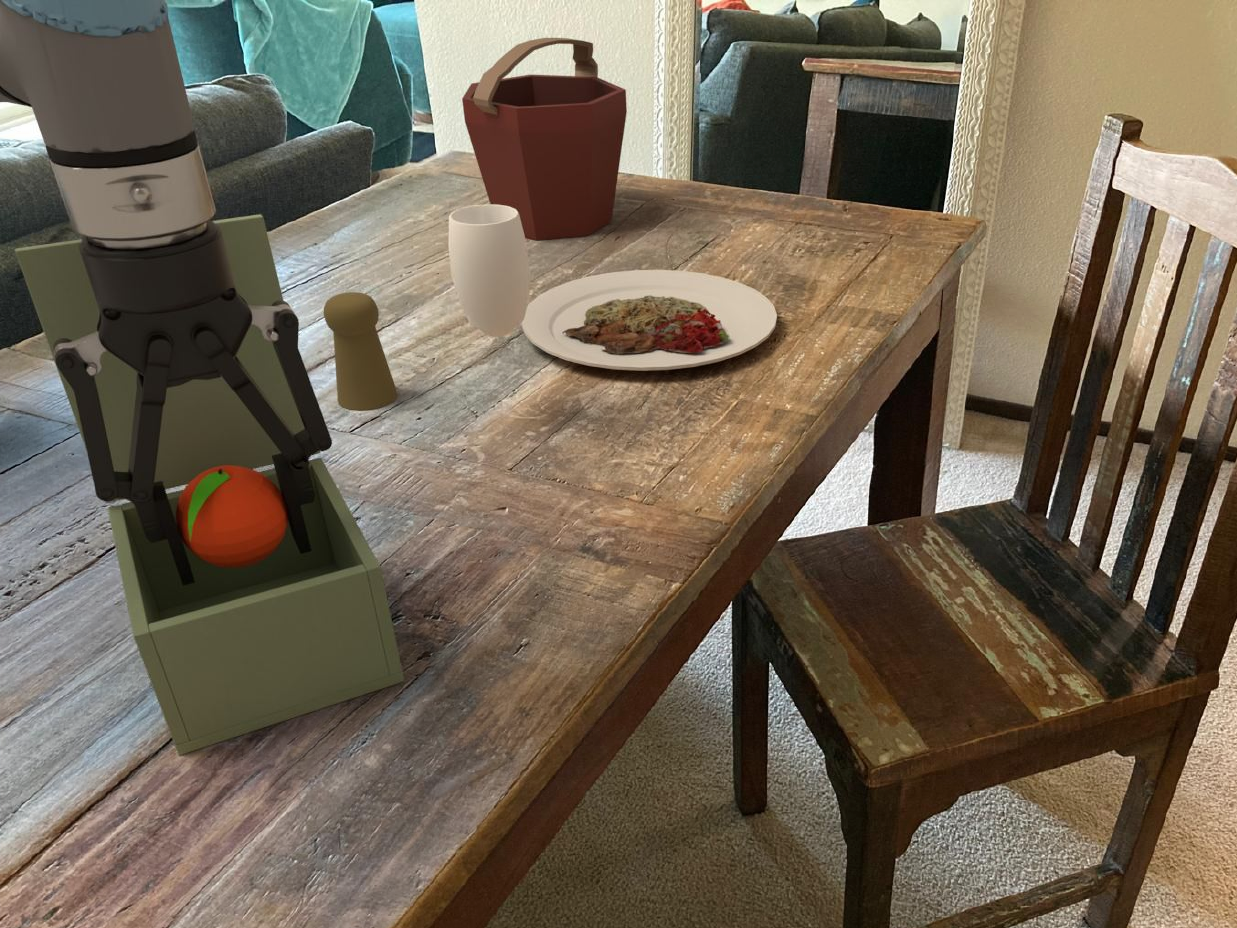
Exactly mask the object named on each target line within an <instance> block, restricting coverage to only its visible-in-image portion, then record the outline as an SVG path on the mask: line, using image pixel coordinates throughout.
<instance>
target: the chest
mask: <svg viewBox="0 0 1237 928" xmlns="http://www.w3.org/2000/svg"><path fill="white" fill-rule="evenodd" d="M308 467H309V472H310V476H311V480H312V484H313V488H314V492H315V498H314V502H311V503H307V504H303V505H300V506H301V510H302V514H303V518H304V522H305V526H306V530H307V534H308V538H309V542H310V546H311V550H312V551H310V552H306V553H303V554H301V553H300V551H299V549H298V547H297V545H296V542H295V540H294V538H293V536H292V532H291V528H290V524H289V520H288V522H287V527H286V531H285V535H284V537H283V539H282V540H281V542H280V543H279V545H278V546H277V548H276V549H275V551H273V552H272V553H271V554H270V555H269V556H267V557H266V558H264V559H263V560H261V561H259V562H258V563H255V564H253V565H249V566H245V567H239V568H229V567H220V566H216V565H213V564H211V563H209V562H207V561H205V560H203V559H201V558H199V557H197V556H196V555H195V554H194V553H193V552H192V551H191V550H190V549H189V548H188V547H187V546H186V545H185V544H184V542H183V540H182V542H183V545H184V549H185V552H186V555H187V558H188V561H189V564H190V567H191V571H192V574H193V577H194V581H195V583H191V584H187V585H184V586H183V584H182V581H181V578H180V576H179V573H178V570H177V567H176V564H175V561H174V558H173V555H172V552H171V549H170V546H169V543H168V540H167V539H165V540H161V541H157V542H153V543H151V542H150V541H149V540H148V539H147V538H146V536H145V533H144V530H143V527H142V525H141V522H140V519H139V516H138V513H137V510H136V507H135V505H134V504H133V503H132V502H131V501H129V502H125V503H121V504H117V505H113V506H109V507H107V512H108V518H109V522H110V527H111V533H112V536H113V542H114V548H115V552H116V556H117V561H118V566H119V572H120V577H121V581H122V586H123V591H124V596H125V601H126V602H125V603H126V606H127V611H128V616H129V621H130V626H131V631H132V636H133V639H134V641H135V644H136V647H137V650H138V652H139V654H140V657H141V660H142V662H143V663H142V664H143V665H144V667H145V670H146V673H147V676H148V678H149V681H150V683H151V686H152V689H153V692H154V694H155V697H156V700H157V702H158V705H159V707H160V710H161V712H162V715H163V718H164V720H165V723H166V725H167V728H168V731H169V734H170V737H171V739H172V742H173V744H174V748H175V749H176V753H177V755H178V756H183V755H185V754H188V753H191V752H194V751H198V750H201V749H203V748H206V747H209V746H213V745H215V744H218V743H222V742H224V741H227V740H230V739H231V740H232V739H233V738H236V737H239V736H242V735H246V734H248V733H252V732H254V731H258V730H261V729H265V728H266V727H270V726H273V725H276V724H279V723H282V722H286V721H288V720H291V719H294V718H297V717H300V716H303V715H307V714H311V713H312V712H315V711H318V710H322V709H324V708H327V707H332V706H334V705H337V704H340V703H343V702H346V701H348V700H352V699H355V698H358V697H361V696H364V695H367V694H371V693H374V692H376V691H381V690H382V689H385V688H388V687H392V686H395V685H397V684H401V683H404V682H405V677H404V672H403V667H402V662H401V658H400V657H401V656H400V653H399V648H398V643H397V638H396V634H395V629H394V625H393V620H392V615H391V611H390V610H391V609H390V606H389V601H388V596H387V591H386V587H385V586H386V585H385V581H384V576H383V572H382V567H381V565H380V563H379V561H378V559H377V557H376V556H375V553H374V552H373V550H372V548H371V547H370V544H369V543H368V541H367V539H366V537H365V535H364V534H363V531H362V530H361V528H360V526H359V524H358V523H357V521H356V518H355V517H354V515H353V514H352V511H351V510H350V507H349V506H348V504H347V502H346V501H345V499H344V497H343V496H342V493H341V491H340V490H339V487H338V486H337V485H336V482H335V480H334V479H333V477H332V475H331V473H330V472H329V470H328V467H327V466H326V464H325V461H323V458H322V457H317V458H312V459H309V466H308ZM258 472H259V473H261V474H263V475H264V476H266V477H267V478H269V479H270V480H271V481H272V482H273V483H274V484H275V485H276V487H277V488H278V489H279V490H280V486H279V482H278V478H277V474H276V471H275V467H274V468H269V469H266V470H261V471H258ZM183 491H184V489H181V490H177V491H172V492H171V491H170V492H166V494H167V497H168V500H169V503H170V506H171V509H172V512H173V515H174V518H175V521H176V509H177V504H178V501H179V498H180V496H181V494H182V492H183ZM280 492H281V490H280ZM176 524H177V521H176ZM181 539H182V538H181Z"/></svg>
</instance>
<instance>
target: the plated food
mask: <svg viewBox="0 0 1237 928" xmlns="http://www.w3.org/2000/svg"><path fill="white" fill-rule="evenodd" d="M777 320H778V313H777V311H776V308H775V305H774V304H773V303H772V302H771V301H770V300H769V298H768V297H767V296H765V295H764V294H763V293H761V292H760V291H758V290H757V289H755V288H753V287H750V286H748V285H746V284H744V283H741V282H739V281H735V280H733V279H729V278H726V277H723V276H718V275H712V274H707V273H703V272H696V271H695V272H693V271H687V270H673V269H672V270H671V269H633V270H623V271H612V272H606V273H600V274H595V275H589V276H586V277H582V278H578V279H573V280H571V281H568V282H565V283H562V284H559V285H557V286H554V287H552V288H550V289H548V290H546V291H544V292H543V293H541V294H539V295H538V296H536V298H534V299H533V300H532V301H530V302H528V305H527V309H526V314H525V318H524V320H523V322H521V323H520V325H521V328H522V330H523V334H524V336H525V337H526V338H527V339H528V340H529V341H530V342H531V343H532V344H533V345H534V346H535V347H537V348H538V349H540V350H542V351H543V352H544V353H547V354H549V355H552V356H554V357H557V358H559V359H562V360H563V361H564V360H565V361H568V362H572V363H576V364H579V365H584V366H589V367H595V368H601V369H607V370H609V369H610V370H619V371H621V370H623V371H639V372H640V371H644V372H645V371H646V372H647V371H669V370H670V371H671V370H677V369H686V368H695V367H700V366H705V365H710V364H715V363H719V362H722V361H725V360H727V359H728V360H729V359H731V358H734V357H738V356H740V355H742V354H744V353H746V352H749V351H751V350H752V349H754V348H757V347H758V346H759V345H760V344H762V343H763V342H764V341H766V340H767V339H769V337H770V336H771V334H772V333H773V331H774V330H775V329H776V326H777Z"/></svg>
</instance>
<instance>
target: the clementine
mask: <svg viewBox="0 0 1237 928" xmlns="http://www.w3.org/2000/svg"><path fill="white" fill-rule="evenodd" d="M259 472H260V471H257V470H255V469H250V468H245V467H241V466H234V465H226V466H219V467H214V468H211V469H209V470H207V471H205V472H203V473H201V474H200V475H198V476H197V477H196V478H195V479H193V480H192V481H191V482H190V483H189V484H187V485H185V487H184V489H183V490H184V491H183V492H182V494H181V496H180V498H179V501H178V504H177V509H176V521H177V527H178V531H179V534H180V536H181V538H182V540H183V542H184V544H185V545H186V546H187V547H188V548H189V549H190V550H191V551H192V552H193V553H194V554H195V555H196V556H197V557H199V558H201V559H203V560H205V561H207V562H209V563H211V564H213V565H216V566H220V567H229V568H239V567H245V566H249V565H253V564H255V563H258V562H259V561H261V560H263V559H264V558H266V557H267V556H269V555H270V554H271V553H272V552H273V551H275V549H276V548H277V546H278V545H279V543H280V542H281V540H282V539H283V537H284V535H285V531H286V527H287V522H288V512H287V506H286V504H285V501H284V498H283V496H282V494H281V492H280V490H279V489H278V488H277V487H276V485H275V484H274V483H273V482H272V481H271V480H270V479H269V478H267V477H266V476H264V475H263V474H261V473H259Z"/></svg>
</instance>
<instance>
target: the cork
mask: <svg viewBox="0 0 1237 928" xmlns="http://www.w3.org/2000/svg"><path fill="white" fill-rule="evenodd" d="M379 315H380V312H379V308H378V305H377V303H376V301H375V300H374V299H373V297H371V296H370V295H369V294H366V293H364V292H358V291H351V292H343V293H339V294H335V295H333V296H331V297H330V298H329V299H327V300H326V302H325V304H324V307H323V318H324V320H325V323H326V325H327V327H328V329H330V330H331V331H332V334H333V349H334V364H335V365H334V366H335V378H336V379H335V380H336V395H337V402H338V405H339V406H341V407H342V408H344V409H347V410H350V411H351V410H352V411H370V410H377V409H380V408H382V407H383V408H384V407H386V406H387V405H390V404H392V403H393V402H394V401H395V400H396V399H397V398H398V394H399V393H398V390H397V388H396V385H395V381H394V378H393V375H392V373H391V370H390V366H389V363H388V361H387V357H386V355H385V351H384V348H383V345H382V342H381V339H380V336H379V333H378V330H377V328H376V326H377V324H378V322H379Z"/></svg>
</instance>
